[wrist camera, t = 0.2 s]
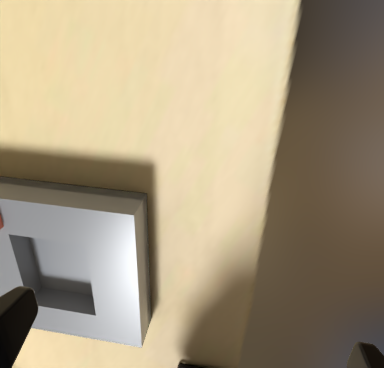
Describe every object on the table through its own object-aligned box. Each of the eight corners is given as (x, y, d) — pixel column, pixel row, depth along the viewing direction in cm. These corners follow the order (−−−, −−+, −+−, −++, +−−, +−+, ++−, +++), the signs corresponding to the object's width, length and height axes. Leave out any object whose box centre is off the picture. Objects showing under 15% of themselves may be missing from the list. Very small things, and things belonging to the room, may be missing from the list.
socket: (151, 319, 31) (139, 354, 28) (17, 297, 33) (-9, 328, 30) (146, 193, 25) (130, 221, 21) (-21, 174, 26) (-59, 196, 23)
